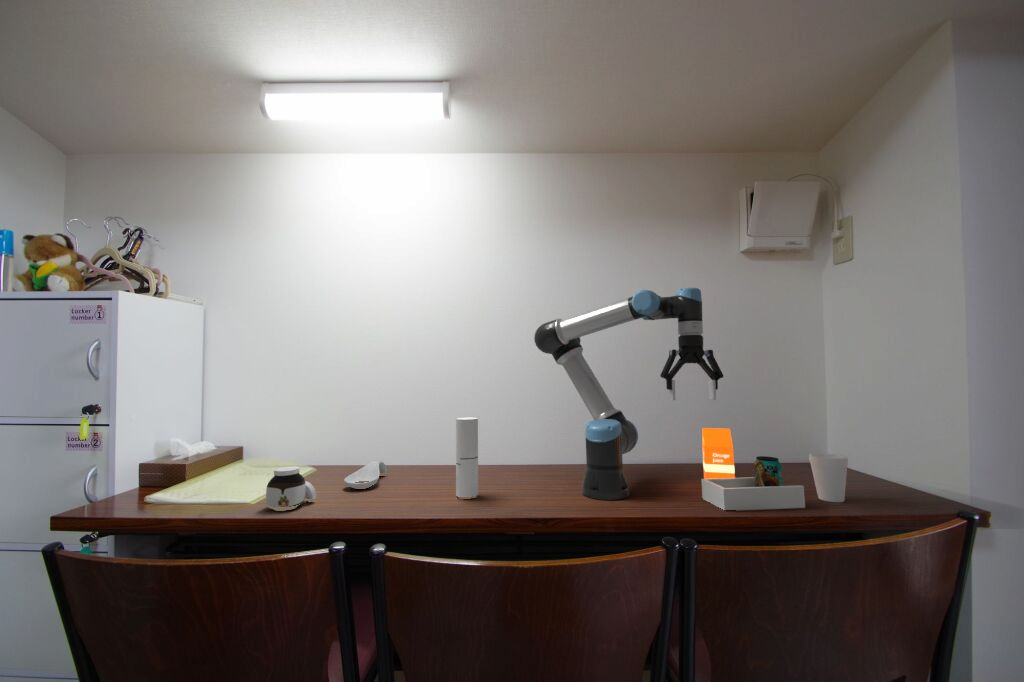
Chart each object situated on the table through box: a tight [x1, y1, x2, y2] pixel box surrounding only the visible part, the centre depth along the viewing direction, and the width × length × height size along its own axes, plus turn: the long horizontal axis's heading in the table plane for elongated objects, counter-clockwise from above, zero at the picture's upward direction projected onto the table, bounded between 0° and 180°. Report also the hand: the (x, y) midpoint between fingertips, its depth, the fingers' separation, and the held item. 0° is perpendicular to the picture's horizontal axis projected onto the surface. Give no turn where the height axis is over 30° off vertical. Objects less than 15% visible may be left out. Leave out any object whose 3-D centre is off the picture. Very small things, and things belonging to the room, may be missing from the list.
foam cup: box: [808, 452, 849, 503], centre depth 128 cm, size 10×9×13 cm
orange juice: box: [701, 427, 736, 479], centre depth 142 cm, size 8×9×20 cm
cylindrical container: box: [455, 417, 479, 497], centre depth 136 cm, size 7×7×25 cm
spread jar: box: [265, 465, 317, 507], centre depth 128 cm, size 12×11×12 cm
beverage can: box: [753, 455, 784, 487], centre depth 126 cm, size 7×7×12 cm
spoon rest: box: [343, 460, 388, 488], centre depth 154 cm, size 24×12×7 cm, turn 175°
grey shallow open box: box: [700, 476, 806, 511], centre depth 125 cm, size 24×12×6 cm, turn 94°
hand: (692, 400), depth 136 cm, fingers open, 13 cm apart
